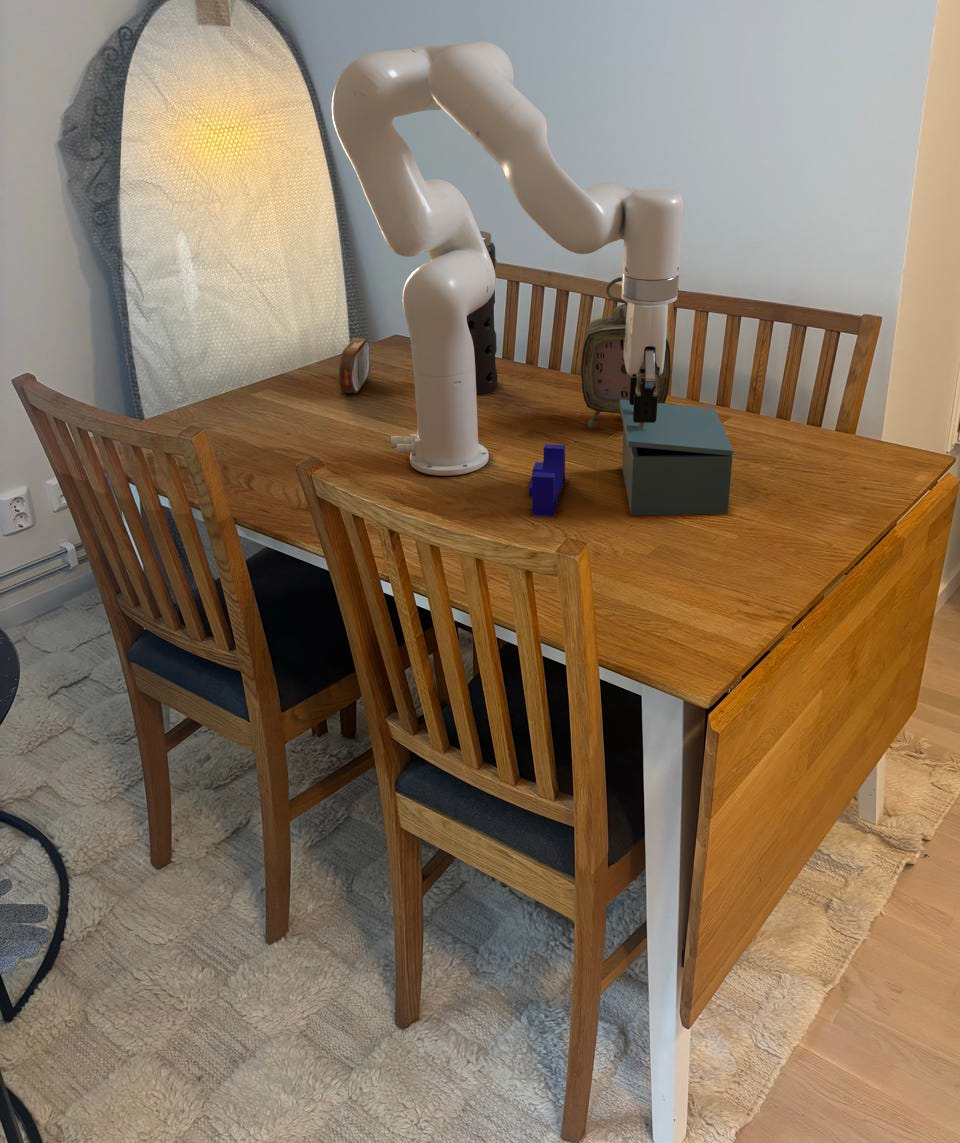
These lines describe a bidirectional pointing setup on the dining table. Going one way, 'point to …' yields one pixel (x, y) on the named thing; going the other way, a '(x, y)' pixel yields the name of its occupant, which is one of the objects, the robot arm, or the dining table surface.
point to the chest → (675, 481)
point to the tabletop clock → (612, 363)
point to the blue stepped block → (548, 480)
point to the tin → (354, 365)
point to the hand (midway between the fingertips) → (642, 411)
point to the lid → (677, 429)
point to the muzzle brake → (485, 335)
